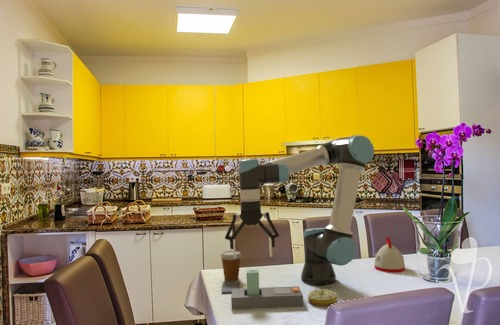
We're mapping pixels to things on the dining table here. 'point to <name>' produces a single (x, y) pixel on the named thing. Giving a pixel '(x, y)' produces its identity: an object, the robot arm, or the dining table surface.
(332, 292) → the yellow flat round piece
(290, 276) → the dining table surface
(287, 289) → the power strip
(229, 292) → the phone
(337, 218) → the robot arm
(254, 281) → the pale green tall block
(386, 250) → the kitchen timer
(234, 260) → the disposable coffee cup
